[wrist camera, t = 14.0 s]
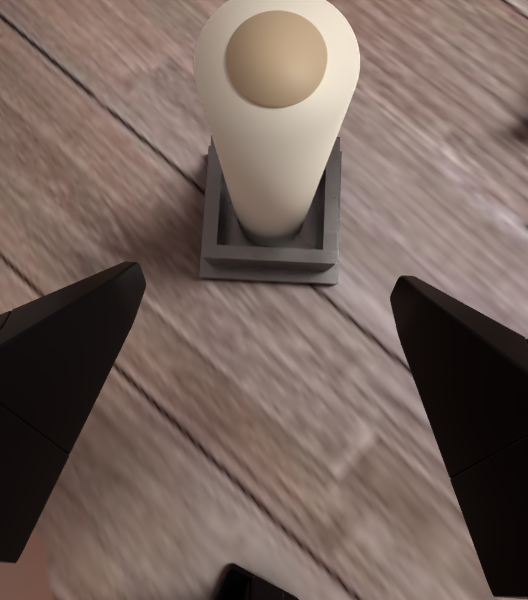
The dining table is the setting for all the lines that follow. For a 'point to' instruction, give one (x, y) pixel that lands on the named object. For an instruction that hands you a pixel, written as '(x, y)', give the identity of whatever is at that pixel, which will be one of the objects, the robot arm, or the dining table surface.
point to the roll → (275, 104)
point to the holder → (280, 259)
